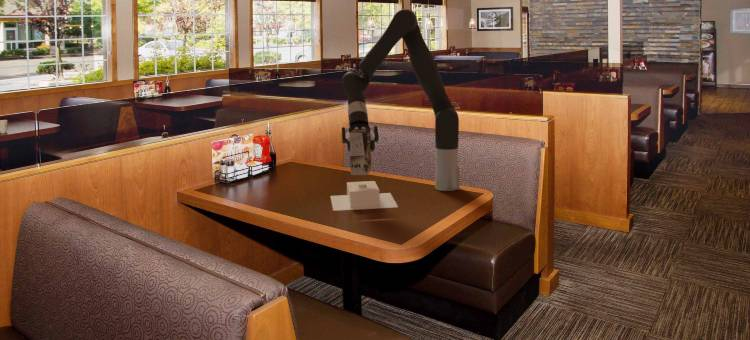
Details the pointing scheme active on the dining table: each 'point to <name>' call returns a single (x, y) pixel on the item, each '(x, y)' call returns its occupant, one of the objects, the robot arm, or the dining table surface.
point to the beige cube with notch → (363, 194)
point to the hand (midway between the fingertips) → (361, 150)
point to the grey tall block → (360, 151)
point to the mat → (343, 204)
